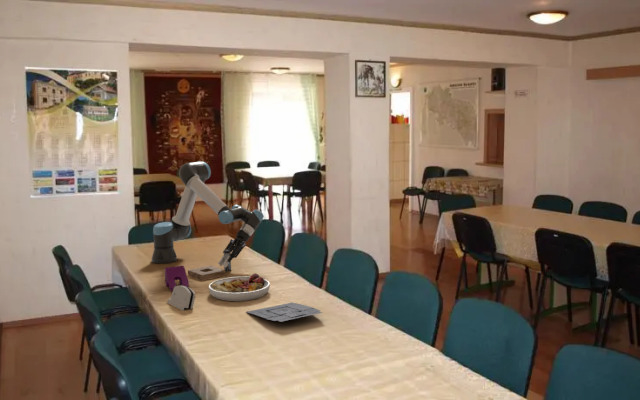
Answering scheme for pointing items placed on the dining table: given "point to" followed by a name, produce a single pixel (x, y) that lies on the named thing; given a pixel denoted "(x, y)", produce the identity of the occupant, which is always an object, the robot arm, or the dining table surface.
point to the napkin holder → (182, 297)
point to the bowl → (239, 288)
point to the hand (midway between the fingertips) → (221, 265)
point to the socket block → (206, 272)
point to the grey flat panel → (285, 312)
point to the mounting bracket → (175, 276)
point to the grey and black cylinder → (226, 254)
